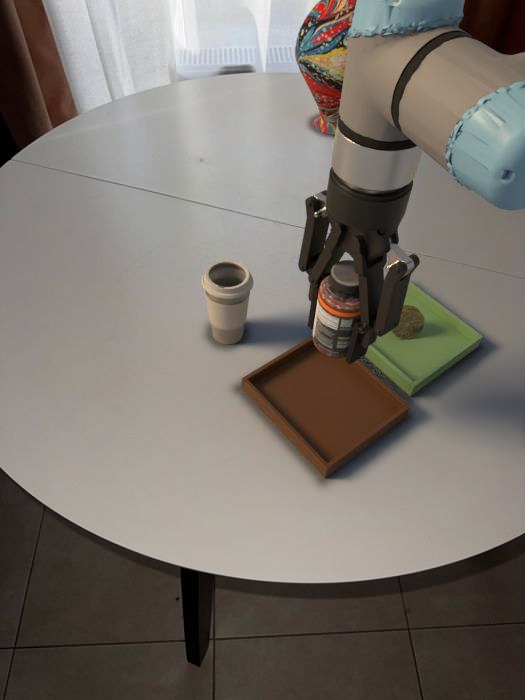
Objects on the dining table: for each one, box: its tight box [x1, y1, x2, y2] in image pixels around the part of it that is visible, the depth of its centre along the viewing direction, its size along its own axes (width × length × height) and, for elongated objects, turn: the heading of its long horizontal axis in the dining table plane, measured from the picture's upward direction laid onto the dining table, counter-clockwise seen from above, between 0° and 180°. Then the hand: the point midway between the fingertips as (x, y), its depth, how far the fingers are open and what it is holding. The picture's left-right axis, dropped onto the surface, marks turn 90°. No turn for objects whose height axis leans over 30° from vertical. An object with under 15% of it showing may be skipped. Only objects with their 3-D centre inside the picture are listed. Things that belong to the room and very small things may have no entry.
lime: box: [392, 305, 424, 339], centre depth 86 cm, size 4×5×5 cm
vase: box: [294, 0, 357, 136], centre depth 115 cm, size 19×19×30 cm
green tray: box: [363, 280, 484, 397], centre depth 87 cm, size 17×15×2 cm
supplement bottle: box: [311, 259, 361, 358], centre depth 65 cm, size 6×6×11 cm
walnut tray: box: [240, 335, 412, 479], centre depth 79 cm, size 17×15×2 cm
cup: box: [200, 258, 255, 345], centre depth 82 cm, size 7×7×12 cm
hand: (336, 339), depth 69 cm, fingers closed on supplement bottle, 6 cm apart
